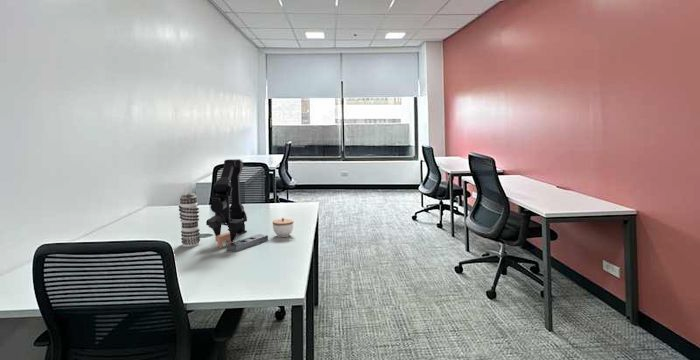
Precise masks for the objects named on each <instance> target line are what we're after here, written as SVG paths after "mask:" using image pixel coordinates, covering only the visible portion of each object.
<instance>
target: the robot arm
mask: <svg viewBox="0 0 700 360" xmlns="http://www.w3.org/2000/svg"><path fill="white" fill-rule="evenodd" d="M243 167H244V162H243V161H242V160H241V159H237V158H235V159H224V161H223V168H222V171H221V175H220V177H219V179H218V180H216V182H215V183H214V185H213V189H212V194H211V199H214V201H212V203H210V210H211V211H212V212H213V213H214V215H213V216H211V217H210V218H208V219H207V220H206V222H205V223H206V226H208V228H210V229H211V230H212V231H213V233H214V237H215V236H218V235H221V231H222V226H226V227H227V230H228V232H230V239H231V242H232V243H233V242H235V238H236V235H241V234H245V233H247V230H246V223H245V222H248V216H247V213H246V211H245V207H244V205H243V203H242V202H241V190H240V189H241V185H240V181H241V180H240V175H241V174H242V171H243ZM230 198H231V203H230Z"/></svg>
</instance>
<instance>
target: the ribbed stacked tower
mask: <svg viewBox="0 0 700 360" xmlns="http://www.w3.org/2000/svg"><path fill="white" fill-rule="evenodd" d="M197 197H198V196H197V195H196V194H195V193H193V192H185V193H182V194H181V195H180V197H179V205H178V211H179V219H180V223H181V231H180V233H181V234H180V236H181V239H180V240H181V243H182V244H181V246H182V247H188V248H189V247H195V246H199V245H200V244H201V236H200V227H199V221H200V218H199V217H200V215H198V214H199V213H200V211H199V210H200V208H199V207H198V206H199V203H198V198H197Z"/></svg>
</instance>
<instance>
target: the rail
mask: <svg viewBox="0 0 700 360" xmlns="http://www.w3.org/2000/svg"><path fill="white" fill-rule="evenodd" d="M267 241H269V235H267V234H262V233H257V234H255V235H251V236H249V237H245V238H243V239H239V240H236V241H233V242H232V243H230V244H228V243H227V244H226V245H225V246H226V250H227V251H231V252H239V251H242V250H246V249H248V248H251V247H253V246H256V245H258V244H261V243H264V242H267Z"/></svg>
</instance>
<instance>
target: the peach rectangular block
mask: <svg viewBox="0 0 700 360" xmlns="http://www.w3.org/2000/svg"><path fill="white" fill-rule="evenodd" d="M214 237H215V242H216V243H217V242H218V243H217V245H218V246H217V247H218V248H219V249H220V248H224V244H223V243H224V241H227V244H230V243H233V242H231V239H230V231H228V232H225V233H222V234H221V233H220V235H218V236H215V235H214Z"/></svg>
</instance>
